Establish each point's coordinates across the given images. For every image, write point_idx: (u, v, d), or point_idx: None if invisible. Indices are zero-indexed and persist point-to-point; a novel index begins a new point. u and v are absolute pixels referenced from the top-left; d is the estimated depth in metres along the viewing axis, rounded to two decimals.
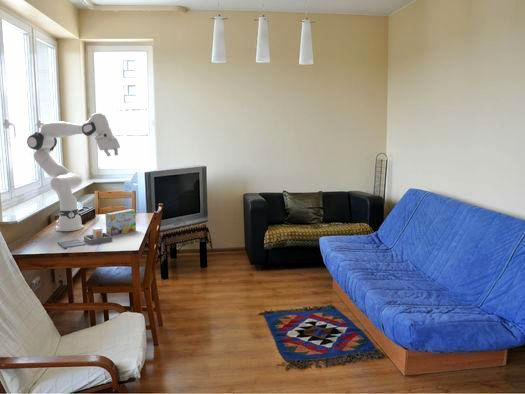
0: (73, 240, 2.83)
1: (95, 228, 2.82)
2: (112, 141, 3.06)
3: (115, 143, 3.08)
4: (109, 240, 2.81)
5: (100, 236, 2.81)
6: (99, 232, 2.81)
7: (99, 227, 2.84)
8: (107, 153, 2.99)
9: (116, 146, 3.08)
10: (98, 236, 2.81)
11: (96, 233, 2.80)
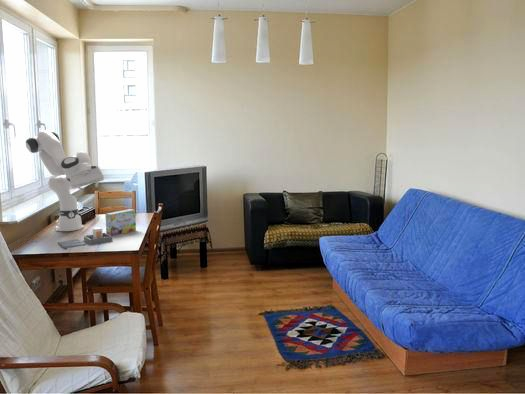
0: (73, 240, 2.83)
1: (95, 228, 2.82)
2: None
3: None
4: (109, 240, 2.81)
5: (100, 236, 2.81)
6: (99, 232, 2.81)
7: (99, 227, 2.84)
8: (97, 184, 2.88)
9: None
10: (98, 236, 2.81)
11: (96, 233, 2.80)
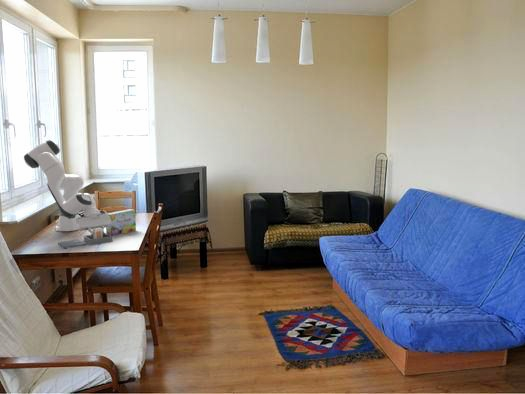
0: (73, 240, 2.83)
1: (95, 228, 2.82)
2: None
3: None
4: (109, 240, 2.81)
5: (100, 236, 2.81)
6: (99, 232, 2.81)
7: (99, 227, 2.84)
8: None
9: None
10: (98, 236, 2.81)
11: (96, 233, 2.80)
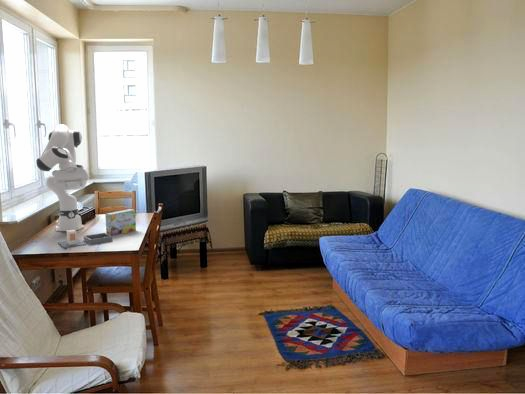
0: None
1: (69, 230, 2.74)
2: None
3: None
4: (109, 240, 2.81)
5: (74, 239, 2.74)
6: (73, 234, 2.73)
7: None
8: None
9: None
10: (72, 239, 2.73)
11: (69, 235, 2.72)
